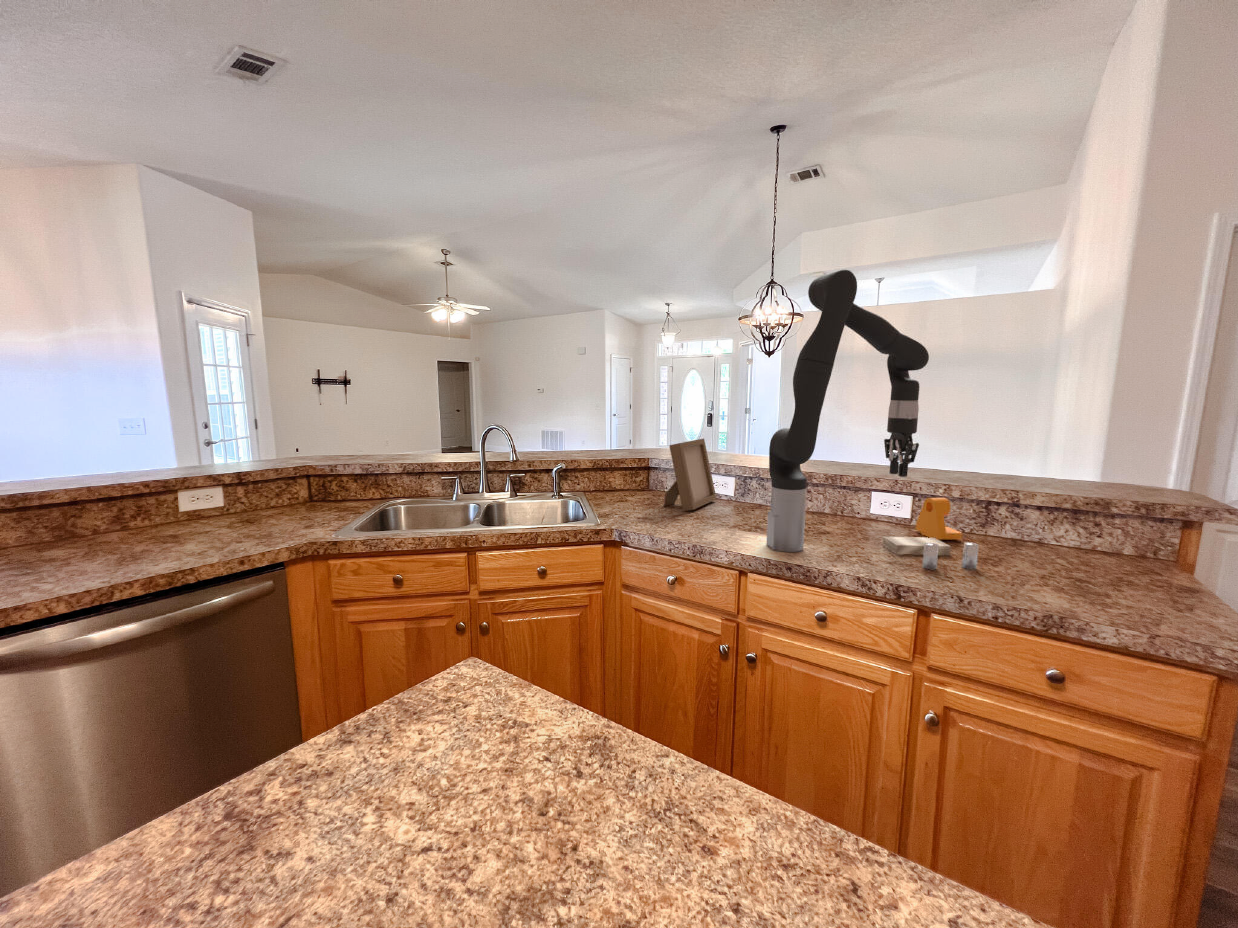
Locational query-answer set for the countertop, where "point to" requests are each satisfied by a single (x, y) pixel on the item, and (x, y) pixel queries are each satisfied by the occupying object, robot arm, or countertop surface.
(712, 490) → the photo frame
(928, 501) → the bracket
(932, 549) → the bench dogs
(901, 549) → the cream curved panel
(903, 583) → the countertop surface
